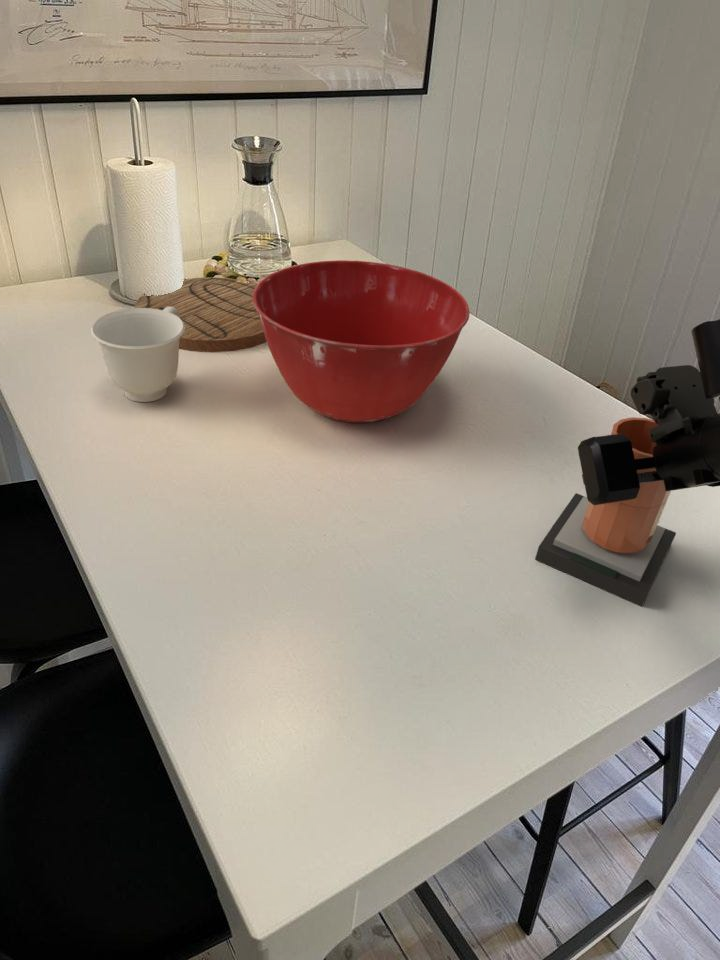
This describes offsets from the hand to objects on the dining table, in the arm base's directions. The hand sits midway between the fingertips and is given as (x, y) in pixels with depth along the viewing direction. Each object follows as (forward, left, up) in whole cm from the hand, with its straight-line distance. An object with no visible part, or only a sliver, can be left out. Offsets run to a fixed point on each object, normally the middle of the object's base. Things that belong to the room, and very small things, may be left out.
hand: (621, 474), depth 80 cm
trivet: (+72, -17, -10) cm, 75 cm away
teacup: (+63, +6, -10) cm, 65 cm away
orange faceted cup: (-1, +1, -7) cm, 7 cm away
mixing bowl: (+39, -10, -10) cm, 42 cm away
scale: (-1, +1, -10) cm, 10 cm away
